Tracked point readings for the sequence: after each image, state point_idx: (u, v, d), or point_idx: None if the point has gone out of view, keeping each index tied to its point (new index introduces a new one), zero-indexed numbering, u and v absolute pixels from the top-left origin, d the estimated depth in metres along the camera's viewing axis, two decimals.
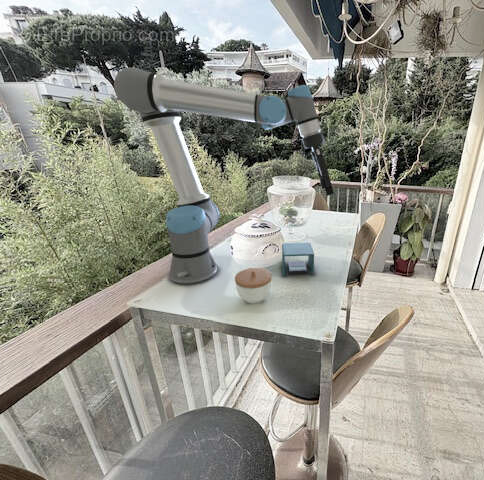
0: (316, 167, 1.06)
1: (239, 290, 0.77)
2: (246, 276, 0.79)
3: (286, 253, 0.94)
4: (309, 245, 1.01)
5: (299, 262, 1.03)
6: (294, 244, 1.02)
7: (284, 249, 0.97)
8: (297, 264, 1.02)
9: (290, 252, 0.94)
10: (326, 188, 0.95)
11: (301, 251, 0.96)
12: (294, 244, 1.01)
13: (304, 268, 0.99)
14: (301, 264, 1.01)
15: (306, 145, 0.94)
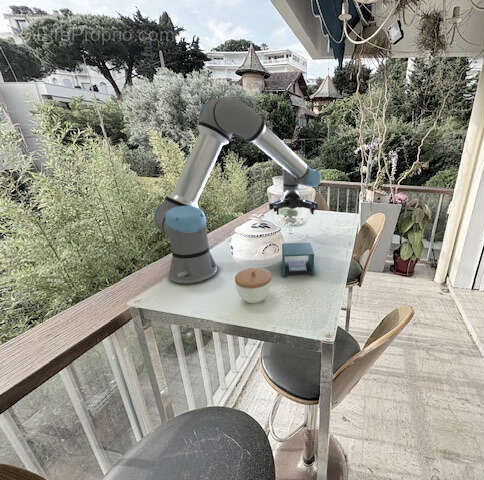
0: (277, 202, 1.09)
1: (239, 290, 0.77)
2: (246, 276, 0.79)
3: (286, 253, 0.94)
4: (309, 245, 1.01)
5: (299, 262, 1.03)
6: (294, 244, 1.02)
7: (284, 249, 0.97)
8: (297, 264, 1.02)
9: (290, 252, 0.94)
10: (312, 207, 1.06)
11: (301, 251, 0.96)
12: (294, 244, 1.01)
13: (304, 268, 0.99)
14: (301, 264, 1.01)
15: (297, 193, 1.19)
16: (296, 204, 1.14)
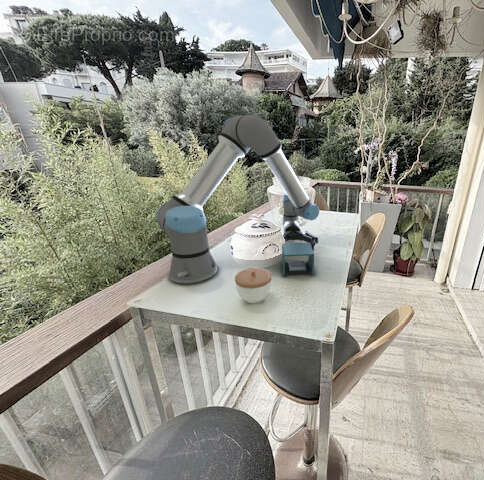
0: None
1: (239, 290, 0.77)
2: (246, 276, 0.79)
3: (286, 253, 0.94)
4: (309, 245, 1.01)
5: (299, 262, 1.03)
6: (294, 244, 1.02)
7: (284, 249, 0.97)
8: (297, 264, 1.02)
9: (290, 252, 0.94)
10: (313, 243, 1.08)
11: (301, 251, 0.96)
12: (294, 244, 1.01)
13: (304, 268, 0.99)
14: (301, 264, 1.01)
15: (297, 226, 1.21)
16: (296, 237, 1.16)
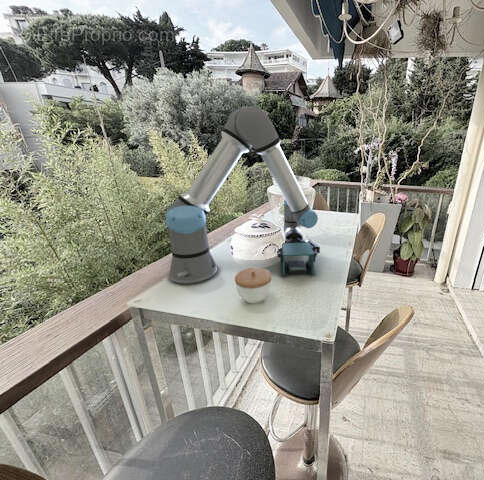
0: None
1: (239, 290, 0.77)
2: (246, 276, 0.79)
3: (286, 253, 0.94)
4: (309, 245, 1.01)
5: (299, 262, 1.03)
6: (294, 244, 1.02)
7: (284, 249, 0.97)
8: (297, 264, 1.02)
9: (290, 252, 0.94)
10: (314, 253, 0.99)
11: (301, 251, 0.96)
12: (294, 244, 1.01)
13: (304, 268, 0.99)
14: (301, 264, 1.01)
15: (299, 233, 1.12)
16: None
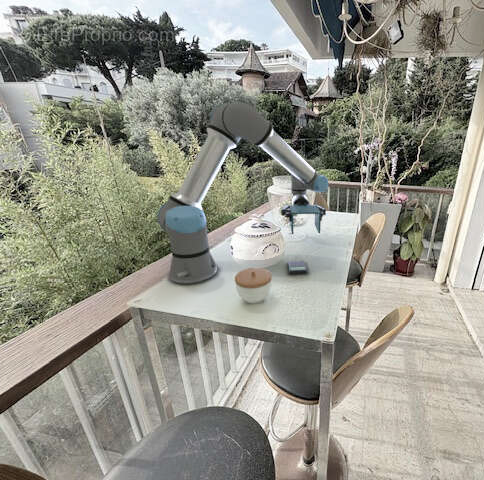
0: (288, 208, 1.09)
1: (239, 290, 0.77)
2: (246, 276, 0.79)
3: (295, 211, 1.00)
4: (316, 207, 1.07)
5: (299, 262, 1.03)
6: (302, 206, 1.08)
7: (292, 209, 1.03)
8: (297, 264, 1.02)
9: (298, 211, 1.01)
10: None
11: (308, 210, 1.02)
12: (301, 206, 1.07)
13: (304, 268, 0.99)
14: (301, 264, 1.01)
15: (306, 199, 1.19)
16: None
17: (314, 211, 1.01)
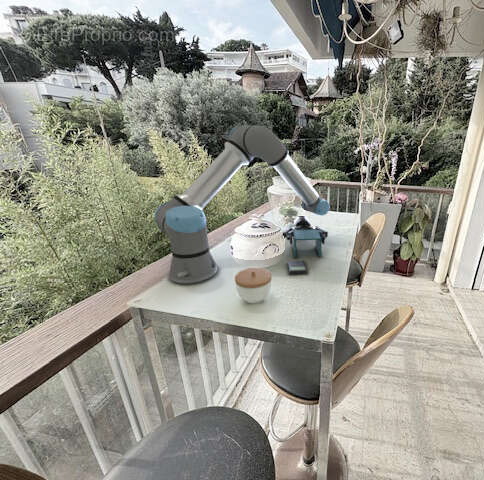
0: (289, 231, 1.17)
1: (239, 290, 0.77)
2: (246, 276, 0.79)
3: (297, 237, 1.08)
4: (317, 231, 1.16)
5: (299, 262, 1.03)
6: (304, 231, 1.16)
7: (295, 234, 1.12)
8: (297, 264, 1.02)
9: (301, 237, 1.09)
10: None
11: (310, 236, 1.11)
12: (303, 231, 1.16)
13: (304, 268, 0.99)
14: (301, 264, 1.01)
15: (307, 221, 1.27)
16: None
17: (315, 237, 1.10)
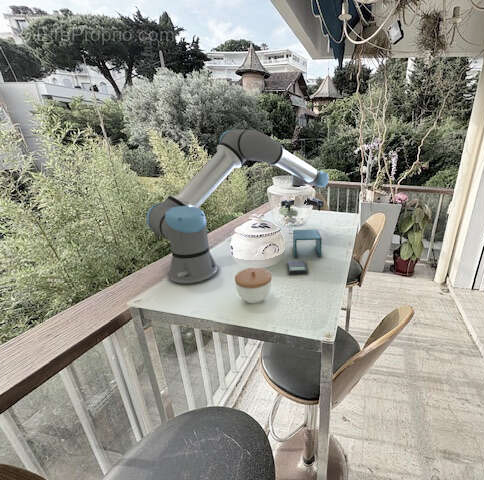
0: None
1: (239, 290, 0.77)
2: (246, 276, 0.79)
3: (297, 237, 1.08)
4: (317, 231, 1.16)
5: (299, 262, 1.03)
6: (304, 231, 1.16)
7: (295, 234, 1.12)
8: (297, 264, 1.02)
9: (301, 237, 1.09)
10: None
11: (310, 236, 1.11)
12: (303, 231, 1.16)
13: (304, 268, 0.99)
14: (301, 264, 1.01)
15: None
16: (304, 202, 1.30)
17: (315, 237, 1.10)
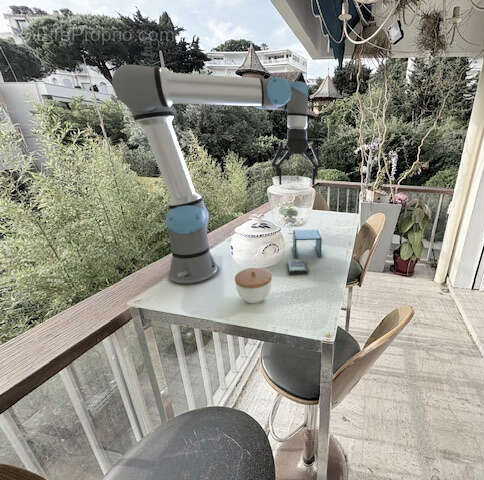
0: (279, 161, 1.04)
1: (239, 290, 0.77)
2: (246, 276, 0.79)
3: (297, 237, 1.08)
4: (317, 231, 1.16)
5: (299, 262, 1.03)
6: (304, 231, 1.16)
7: (295, 234, 1.12)
8: (297, 264, 1.02)
9: (301, 237, 1.09)
10: (314, 178, 1.09)
11: (310, 236, 1.11)
12: (303, 231, 1.16)
13: (304, 268, 0.99)
14: (301, 264, 1.01)
15: (303, 136, 1.00)
16: (300, 153, 1.05)
17: (315, 237, 1.10)
